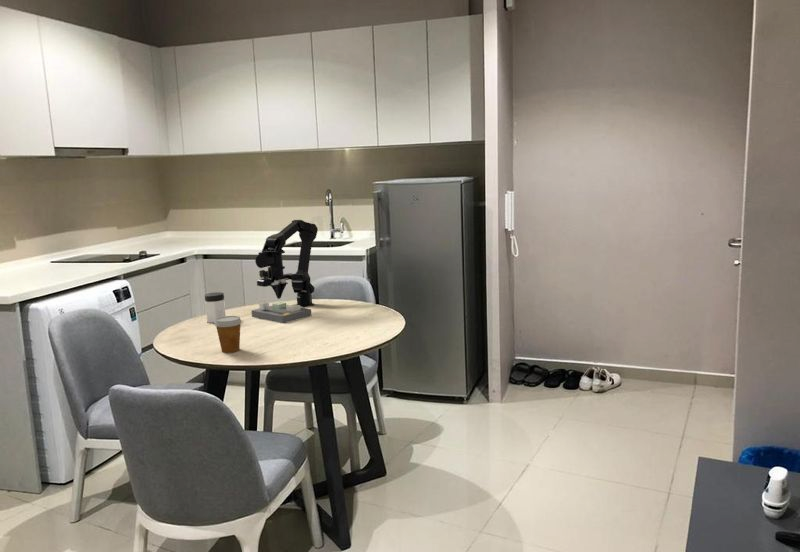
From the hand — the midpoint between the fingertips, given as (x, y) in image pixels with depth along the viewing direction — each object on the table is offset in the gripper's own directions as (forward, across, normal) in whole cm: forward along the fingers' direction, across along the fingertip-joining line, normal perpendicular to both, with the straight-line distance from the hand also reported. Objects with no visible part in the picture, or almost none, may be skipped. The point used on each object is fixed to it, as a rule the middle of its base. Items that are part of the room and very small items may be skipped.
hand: (278, 298), depth 296 cm
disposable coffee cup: (+7, +48, +33) cm, 59 cm away
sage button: (+5, 0, 0) cm, 5 cm away
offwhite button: (+5, 0, +10) cm, 11 cm away
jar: (+7, +24, -14) cm, 29 cm away
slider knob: (+3, +8, -1) cm, 8 cm away
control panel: (+7, +3, +5) cm, 9 cm away
